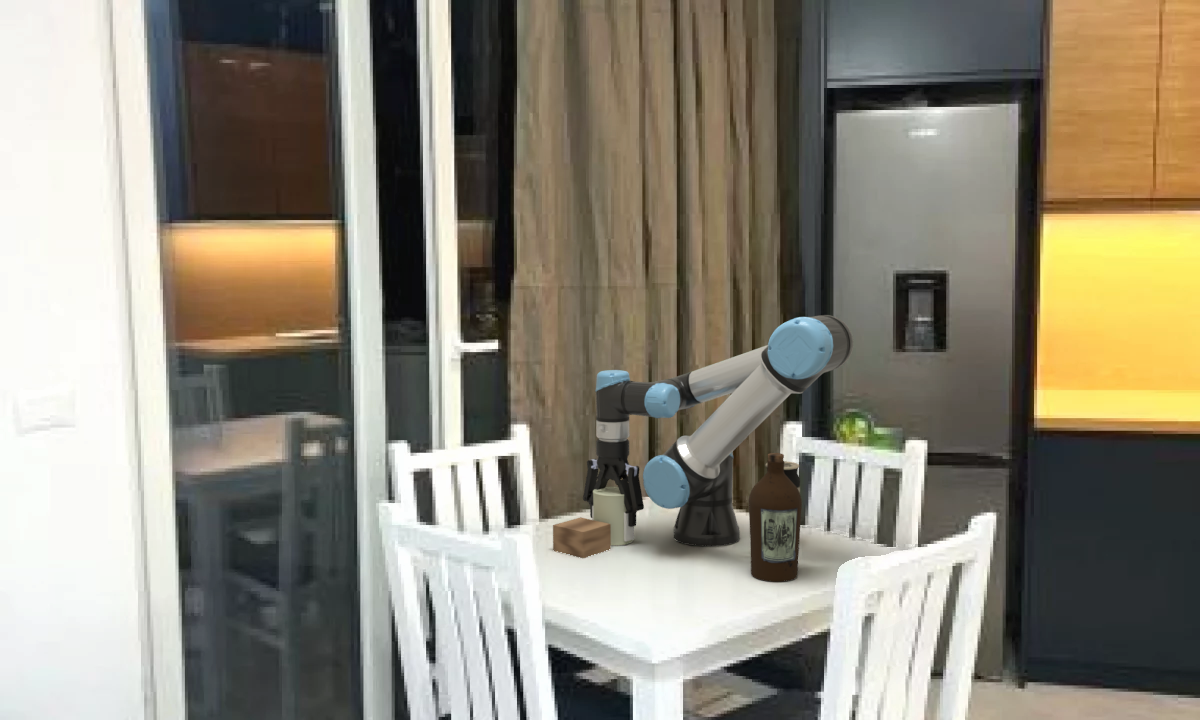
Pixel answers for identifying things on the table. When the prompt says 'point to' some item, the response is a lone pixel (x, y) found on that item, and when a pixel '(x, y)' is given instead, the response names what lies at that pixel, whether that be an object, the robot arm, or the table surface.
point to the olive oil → (775, 524)
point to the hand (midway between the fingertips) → (612, 536)
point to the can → (611, 512)
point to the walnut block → (581, 537)
